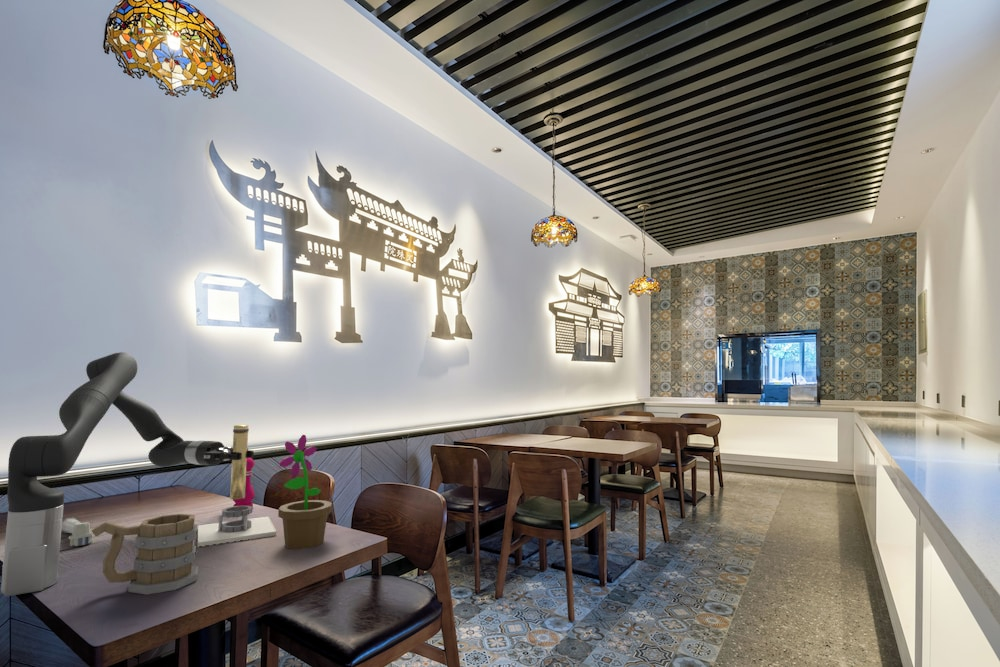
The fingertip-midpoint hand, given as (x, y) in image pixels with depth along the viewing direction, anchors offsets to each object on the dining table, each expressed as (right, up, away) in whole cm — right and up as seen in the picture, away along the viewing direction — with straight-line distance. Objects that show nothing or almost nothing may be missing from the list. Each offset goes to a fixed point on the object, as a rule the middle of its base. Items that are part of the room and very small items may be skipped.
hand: (246, 455), depth 152 cm
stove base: (-2, -23, -2) cm, 23 cm away
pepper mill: (-16, -27, +28) cm, 41 cm away
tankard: (-1, -19, -42) cm, 46 cm away
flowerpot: (+23, -22, -12) cm, 34 cm away
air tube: (-3, -13, 0) cm, 13 cm away
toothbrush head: (-48, -24, -6) cm, 54 cm away
